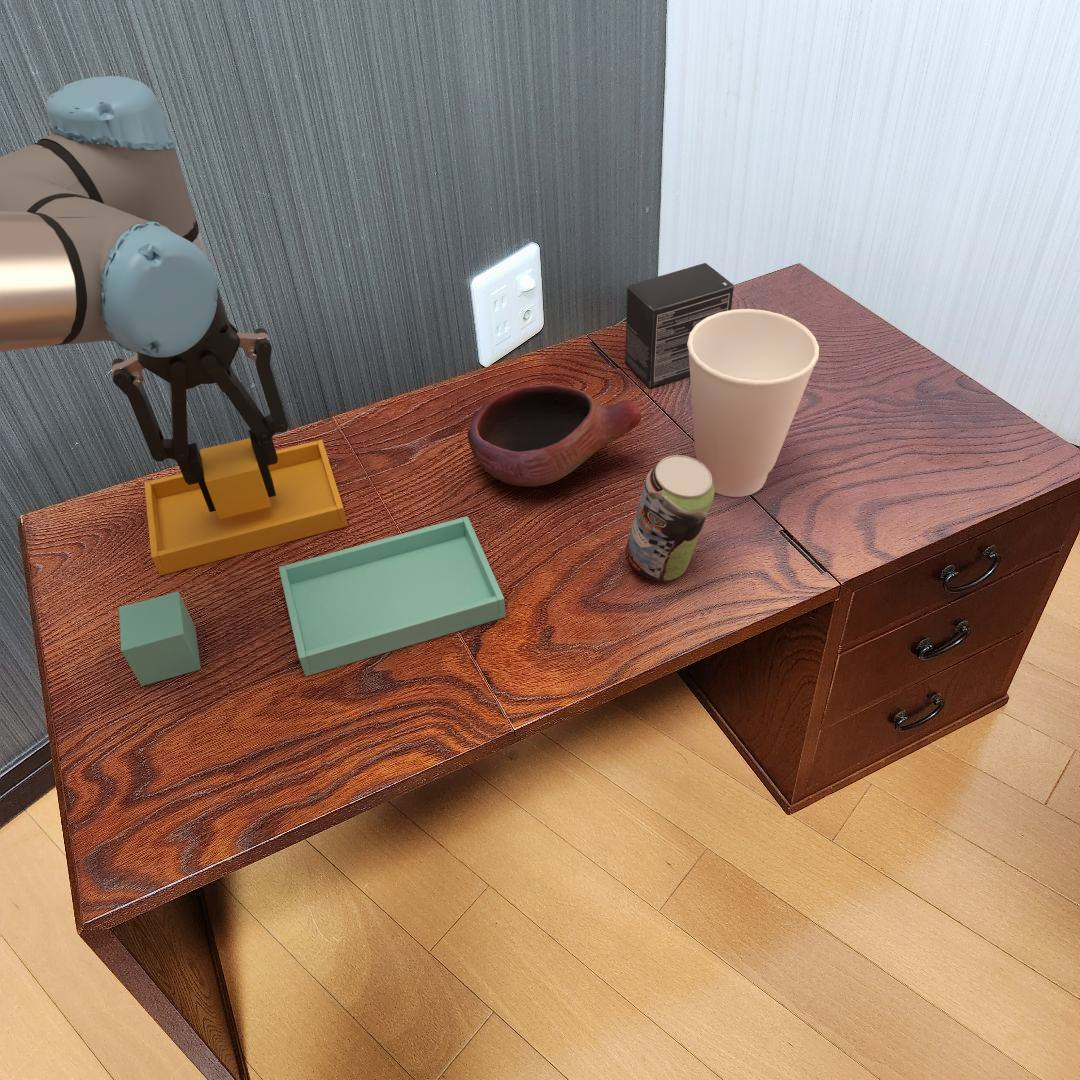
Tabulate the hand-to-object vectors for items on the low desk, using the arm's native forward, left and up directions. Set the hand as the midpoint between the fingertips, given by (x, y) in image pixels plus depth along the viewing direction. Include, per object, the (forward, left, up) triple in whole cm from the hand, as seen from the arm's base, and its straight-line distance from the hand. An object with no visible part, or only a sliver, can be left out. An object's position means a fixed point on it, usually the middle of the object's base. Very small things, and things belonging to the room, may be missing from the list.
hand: (241, 494), depth 92 cm
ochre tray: (0, 0, -3) cm, 3 cm away
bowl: (+31, -4, -3) cm, 31 cm away
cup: (+48, -13, -3) cm, 50 cm away
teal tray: (+11, -17, -3) cm, 20 cm away
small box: (+51, +7, -3) cm, 52 cm away
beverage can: (+36, -22, -3) cm, 42 cm away
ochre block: (0, 0, 0) cm, 0 cm away
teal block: (-9, -16, -3) cm, 18 cm away
